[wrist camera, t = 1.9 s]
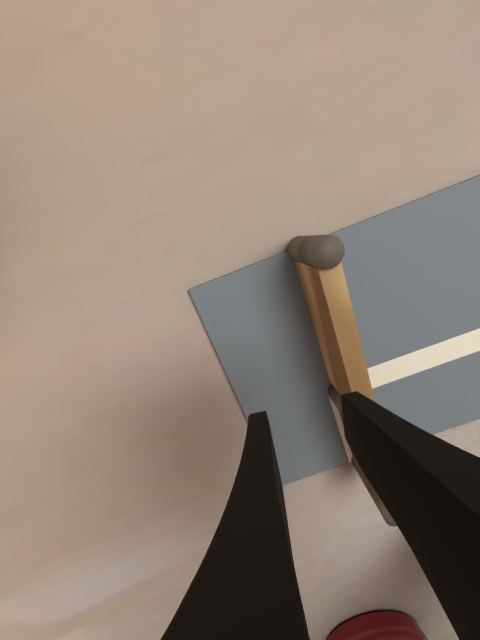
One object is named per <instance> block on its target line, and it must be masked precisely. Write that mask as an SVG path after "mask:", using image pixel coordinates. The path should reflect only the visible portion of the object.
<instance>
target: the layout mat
mask: <svg viewBox="0 0 480 640" xmlns="http://www.w3.org/2000/svg"><path fill="white" fill-rule="evenodd" d="M328 235H334V236H337V237H339V238H340V239H341V240H342V242H343V244H344V246H345V254H344V257H343V260H342V261H341V263H342V267H343V271H344V275H345V280H346V284H347V288H348V292H349V296H350V300H351V304H352V308H353V312H354V317H355V321H356V325H357V329H358V333H359V337H360V341H361V345H362V349H363V354H364V358H365V362H366V366H367V370H368V374H369V378H370V382H371V386H372V391H373V395H374V399H375V402H376V403H377V404H379V405H381V406H382V407H384V408H386V409H387V410H389V411H391V412H392V413H394V414H396V415H397V416H399V417H401V418H403V419H404V420H406V421H408V422H410V423H411V424H413V425H415V426H417V427H419V428H421V429H422V430H424V431H426V432H428V433H430V434H432V435H433V434H436V433H439V432H442V431H445V430H448V429H451V428H453V427H456V426H459V425H462V424H465V423H468V422H471V421H474V420H477V419H480V175H478V176H476V177H473V178H471V179H468V180H465V181H463V182H460V183H458V184H455V185H453V186H450V187H448V188H445V189H443V190H440V191H438V192H435V193H432V194H430V195H427V196H425V197H422V198H420V199H417V200H415V201H412V202H410V203H407V204H404V205H402V206H399V207H397V208H394V209H392V210H389V211H387V212H384V213H382V214H379V215H377V216H374V217H371V218H369V219H366V220H364V221H361V222H359V223H356V224H354V225H351V226H349V227H346V228H344V229H341V230H338V231H336V232H333V233H331V234H328ZM294 261H295V260H293V259H292V258H291V257H290V256H289V254H288V251H285V252H283V253H280V254H277V255H275V256H272V257H270V258H267V259H265V260H262V261H260V262H257V263H255V264H252V265H250V266H247V267H244V268H242V269H239V270H237V271H234V272H232V273H229V274H227V275H224V276H222V277H219V278H217V279H214V280H211V281H209V282H206V283H204V284H201V285H199V286H196V287H194V288H191V289H189V290H188V291H189V293H190V295H191V298H192V300H193V302H194V304H195V306H196V309H197V311H198V313H199V315H200V317H201V320H202V322H203V324H204V326H205V328H206V331H207V333H208V335H209V337H210V339H211V342H212V344H213V346H214V348H215V350H216V353H217V355H218V357H219V359H220V361H221V364H222V366H223V368H224V370H225V372H226V374H227V377H228V379H229V381H230V383H231V385H232V388H233V390H234V392H235V394H236V396H237V399H238V401H239V403H240V405H241V407H242V410H243V412H244V414H245V416H246V418H247V421H248V416H249V415H250V414H253V413H257V412H262V411H266V412H267V416H268V420H269V424H270V429H271V434H272V438H273V443H274V448H275V453H276V457H277V462H278V467H279V471H280V476H281V481H282V485H285V484H288V483H291V482H294V481H297V480H300V479H303V478H306V477H309V476H312V475H315V474H318V473H321V472H324V471H326V470H329V469H332V468H335V467H338V466H341V465H344V464H347V463H351V458H352V453H351V449H350V447H349V445H348V443H347V441H346V439H345V435H344V426H343V423H342V420H341V417H340V413H339V410H338V409H337V407H336V406H335V404H334V403H333V401H332V400H331V398H330V397H329V395H328V392H327V390H328V387H329V385H330V384H331V382H330V378H329V375H328V372H327V369H326V365H325V362H324V359H323V355H322V352H321V349H320V345H319V342H318V339H317V336H316V332H315V329H314V326H313V322H312V319H311V316H310V313H309V309H308V306H307V303H306V299H305V296H304V293H303V289H302V286H301V283H300V280H299V276H298V273H297V270H296V266H295V263H294Z"/></svg>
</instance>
